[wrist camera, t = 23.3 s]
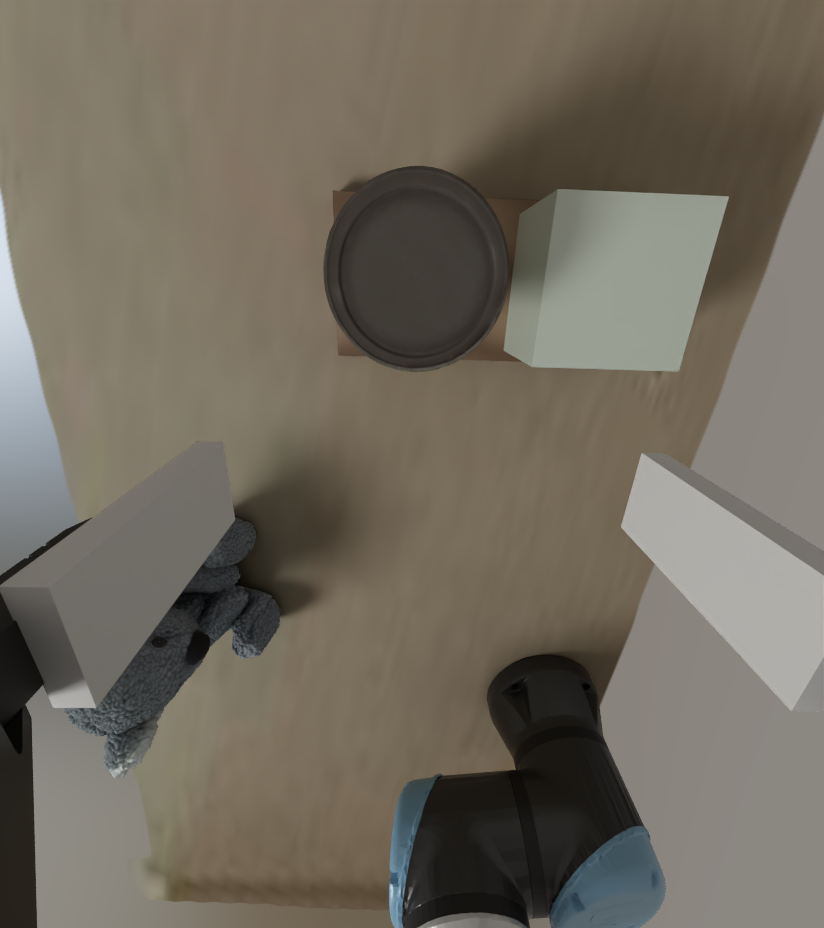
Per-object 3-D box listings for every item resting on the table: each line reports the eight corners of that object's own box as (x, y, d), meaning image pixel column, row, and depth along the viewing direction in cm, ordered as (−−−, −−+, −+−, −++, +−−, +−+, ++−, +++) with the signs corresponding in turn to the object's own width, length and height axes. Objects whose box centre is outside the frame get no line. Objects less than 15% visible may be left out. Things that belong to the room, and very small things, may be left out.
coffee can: (330, 293, 35) (287, 296, 23) (401, 183, 32) (398, 112, 19) (422, 366, 38) (431, 406, 25) (496, 270, 35) (549, 259, 22)
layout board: (614, 362, 40) (623, 365, 38) (340, 353, 39) (338, 355, 38) (649, 209, 35) (661, 205, 33) (335, 194, 34) (332, 189, 32)
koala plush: (290, 620, 52) (231, 792, 34) (156, 636, 53) (29, 814, 35) (250, 503, 45) (150, 642, 27) (97, 524, 46) (-98, 673, 28)
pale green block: (618, 354, 38) (678, 371, 30) (503, 350, 38) (531, 367, 30) (649, 219, 34) (729, 196, 26) (519, 214, 34) (557, 188, 25)
